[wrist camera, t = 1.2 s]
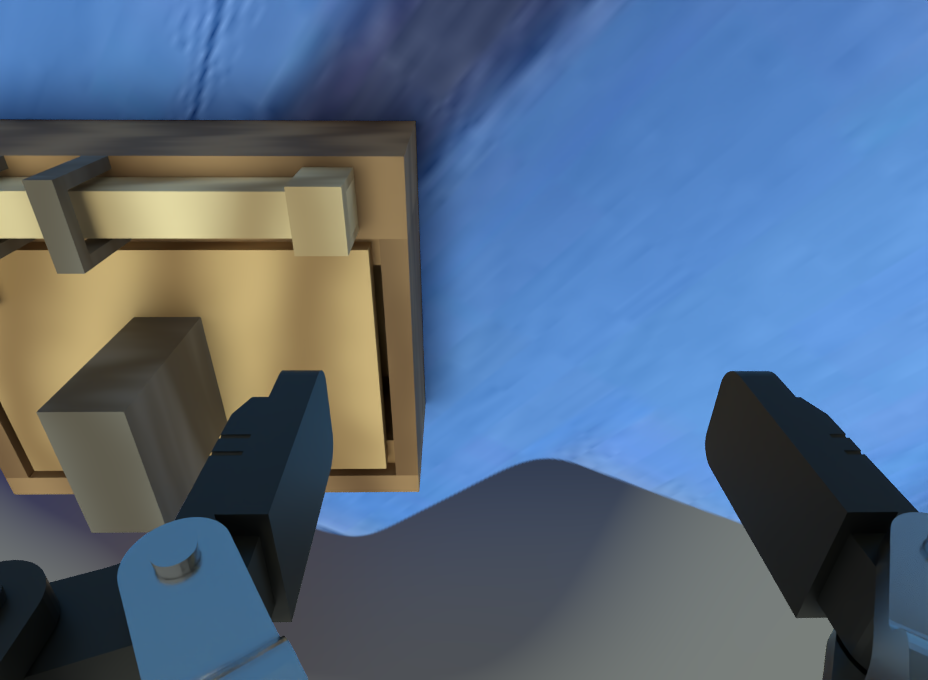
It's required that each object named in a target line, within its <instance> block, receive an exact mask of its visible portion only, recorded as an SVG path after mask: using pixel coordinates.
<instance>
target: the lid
mask: <svg viewBox="0 0 928 680" xmlns="http://www.w3.org/2000/svg"><path fill="white" fill-rule="evenodd" d="M282 370H322V371H323V372H324V374H325V378H326V384H327V392H328V400H329V408H330V416H331V424H332V432H333V459H332V466H331V469H386V467H387V461H388V448H387V435H386V423H385V410H384V397H383V385H382V372H381V360H380V347H379V335H378V322H377V310H376V297H375V285H374V272H373V260H372V247H371V242H354V244H353V246H352V248H351V251H350V253H349V256H294V249H293V242H128V243H127V244H125V245H124V246H122V247H121V248H120V249H118V250H117V251H116V252H114V253H113V254H111V255H110V256H109V257H107V258H106V259H105V260H103V261H102V262H100V263H99V264H98V265H96V266H95V267H94V268H92V269H91V270H89V271H88V272H87V273H85V274H57V272H56V269H55V267H54V264H53V261H52V259H51V256H50V253H49V251H48V248H47V246H46V243H45V242H30V243H28V244H26V245H24V246H23V247H21V248H19V249H17V250H16V251H14V252H12V253H10V254H8V255H7V256H5V257H3V258H1V259H0V402H1V404H2V406H3V408H4V410H5V412H6V414H7V416H8V418H9V420H10V422H11V424H12V426H13V428H14V430H15V432H16V434H17V437H18V439H19V441H20V443H21V445H22V447H23V449H24V451H25V453H26V455H27V457H28V459H29V461H30V463H31V465H32V467H33V469H34V471H64V473H65V476H66V478H67V480H68V482H69V484H70V486H71V489H72V491H73V493H74V495H75V497H76V499H77V501H78V504H79V506H80V508H81V510H82V512H83V514H84V516H85V519H86V521H87V523H88V525H89V527H90V529H91V532H92V533H106V532H107V533H110V532H150V531H152V530H154V529H155V528H157V527H159V526H162V525H164V524H166V523H169V522H172V521H174V520H175V518H176V516H177V514H178V512H179V511H180V509H181V507H182V505H183V503H184V501H185V499H186V498H187V496H188V494H189V492H190V490H191V488H192V487H193V485H194V483H195V481H196V479H197V477H198V475H199V474H200V472H201V470H202V468H203V466H204V464H205V463H206V461H207V459H208V457H209V456H211V455H212V450H213V448H214V446H215V444H216V442H217V440H218V438H221V433H222V431H223V429H224V427H225V425H226V423H227V422H228V420H229V418H230V416H231V414H232V413H233V412H235V411H236V410H237V409H238V408H239V407H241V406H242V405H243V404H244V403H245V402H247V401H248V400H249V399H250V398H251V397H269V395H270V393H271V391H272V389H273V386H274V384H275V382H276V380H277V378H278V376H279V374H280V372H281V371H282Z"/></svg>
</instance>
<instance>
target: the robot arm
mask: <svg viewBox="0 0 928 680" xmlns="http://www.w3.org/2000/svg"><path fill="white" fill-rule="evenodd" d="M705 450H706V457H707V461H708V464H709V466H710V468H711V470H712V472H713V473H714V475H715V477H716V479H717V480H718V482H719V484H720V486H721V487H722V489H723V491H724V493H725V494H726V496H727V498H728V500H729V501H730V503H731V505H732V507H733V508H734V510H735V512H736V514H737V515H738V517H739V519H740V521H741V522H742V524H743V526H744V528H745V529H746V531H747V533H748V535H749V536H750V538H751V540H752V542H753V543H754V545H755V547H756V549H757V550H758V552H759V554H760V556H761V557H762V559H763V561H764V563H765V564H766V566H767V568H768V569H769V571H770V573H771V575H772V577H773V578H774V580H775V582H776V584H777V585H778V587H779V589H780V591H781V592H782V594H783V596H784V598H785V599H786V601H787V603H788V605H789V606H790V608H791V610H792V612H793V613H794V615H795V617H796V618H821V617H822V618H823V617H827V618H828V620H829V621H830V623H831V625H832V626H833V628H834V629H833V631H832V633H831V634H830V636H829V638H828V640H827V645H826V652H825V662H824V671H823V678H822V680H928V513H922V512H918V511H917V510H916V509H915V508H914V507H913V505H912V504H911V503H910V502H909V501H908V500H907V499H906V498H905V497H904V496H903V495H902V494H901V493H900V492H899V490H898V489H897V488H896V487H895V486H894V485H893V484H892V483H891V482H890V481H889V480H888V479H887V478H886V477H885V476H884V474H883V473H882V472H881V471H880V470H879V469H878V468H877V467H876V466H875V465H874V464H873V463H872V462H871V461H870V459H869V458H868V457H867V456H866V455H865V454H861V450H860V449H859V448H858V447H857V446H856V445H855V443H854V442H853V441H852V440H851V439H850V438H846V437H845V433H844V432H843V431H842V430H841V428H840V427H839V426H838V425H837V424H836V423H835V422H834V421H833V420H832V419H831V418H830V417H829V416H828V415H827V414H826V413H824V412H823V411H821V410H820V409H818V408H817V407H815V406H813V405H812V404H810V403H809V402H807V401H805V400H804V399H802V398H801V397H795V395H794V394H793V393H792V392H791V391H790V390H789V389H788V388H787V387H786V385H785V384H784V383H783V382H782V381H781V380H780V379H779V378H778V376H777V375H775V374H774V373H773V372H770V371H730V372H728V373H726V374H725V376H724V377H723V379H722V382H721V385H720V389H719V392H718V396H717V399H716V402H715V406H714V409H713V413H712V416H711V420H710V423H709V427H708V430H707V434H706V440H705ZM332 459H333V432H332V424H331V416H330V408H329V400H328V392H327V384H326V378H325V374H324V372H323V371H322V370H282V371H281V372H280V374H279V376H278V378H277V380H276V382H275V384H274V386H273V389H272V391H271V393H270V395H269V397H251V398H250V399H249V400H248V401H247V402H245V403H244V404H243V405H242V406H241V407H239V408H238V409H237V410H236V411H235V412H233V413H232V414H231V416H230V418H229V420H228V422H227V423H226V425H225V427H224V429H223V431H222V433H221V438H218V440H217V442H216V444H215V446H214V448H213V450H212V455H211V456H209V457H208V459H207V461H206V463H205V464H204V466H203V468H202V470H201V472H200V474H199V476H198V478H197V479H196V481H195V483H194V485H193V487H192V489H191V491H190V492H189V494H188V496H187V498H186V500H185V502H184V504H183V506H182V507H181V509H180V511H179V513H178V515H177V517H176V519H175V520H174V521H172V522H169V523H166V524H164V525H162V526H159V527H157V528H155V529H154V530H152V531H150V532H149V533H147V534H146V535H144V536H143V537H142V538H140V539H139V540H138V541H137V542H136V543H135V544H134V545H133V546H132V547H131V548H130V549H129V550H128V552H127V553H126V554H125V556H124V558H123V559H122V561H121V563H119V564H117V565H114V566H111V567H107V568H104V569H100V570H96V571H92V572H89V573H85V574H81V575H77V576H74V577H69V578H66V579H62V580H58V581H54V582H50V583H49V581H48V580H47V578H46V576H45V574H44V572H43V570H42V569H41V568H40V567H39V566H37V565H35V564H34V563H31V562H28V561H23V560H11V561H2V562H0V680H308V678H307V676H306V674H305V672H304V670H303V668H302V666H301V664H300V662H299V660H298V658H297V656H296V654H295V652H294V650H293V648H292V646H291V644H290V643H289V641H288V640H287V638H286V637H285V636H282V637H280V636H279V635H278V633H277V631H276V629H275V627H274V625H273V622H292V619H293V615H294V611H295V607H296V603H297V599H298V595H299V592H300V588H301V584H302V580H303V576H304V572H305V567H306V564H307V560H308V556H309V552H310V549H311V544H312V541H313V537H314V533H315V529H316V525H317V521H318V517H319V513H320V509H321V505H322V502H323V498H324V494H325V490H326V486H327V482H328V478H329V474H330V470H331V466H332Z"/></svg>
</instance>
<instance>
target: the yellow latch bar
mask: <svg viewBox="0 0 928 680" xmlns="http://www.w3.org/2000/svg"><path fill="white" fill-rule="evenodd" d="M25 178H28V177H0V238H43V235H42V232H41V230H40V227H39V225H38V222H37V219H36V217H35V214H34V212H33V209H32V206H31V204H30V201H29V198H28V196H27V193H26V191H25V188H24V185H23V183H22V180H23V179H25ZM67 191H68V194H69V196H70V199H71V202H72V205H73V208H74V211H75V214H76V217H77V220H78V223H79V225H80V228H81V231H82V234H83V237H84V238H292V242H293V249H294V256H349V253H350V251H351V248H352V246H353V244H354V241H355V239H356V237H357V234H358V232H359V226H358V215H357V204H356V193H355V181H354V170H353V167H302V168H301V169H300V170H299V171H298V172H297V173H296V174H295V176H294V177H93V178H91V179H89V180H87V181H85V182H83V183H81V184H79V185H77V186H75V187H73V188H71V189H68V190H67Z"/></svg>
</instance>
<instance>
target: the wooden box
mask: <svg viewBox="0 0 928 680" xmlns="http://www.w3.org/2000/svg"><path fill="white" fill-rule="evenodd" d="M302 167H353V170H354V181H355V193H356V204H357V215H358V226H359V232H358V234H357V237H356V239H355V241H354V242H371V247H372V260H373V272H374V285H375V297H376V310H377V322H378V335H379V347H380V360H381V372H382V385H383V397H384V410H385V423H386V435H387V448H388V461H387V467H386V469H331V470H330V474H329V478H328V482H327V486H326V490H325V492H419V487H420V473H421V459H422V445H423V431H424V417H425V378H424V349H423V321H422V292H421V263H420V234H419V205H418V177H417V148H416V121H293V120H10V119H0V177H28V178H25V179H23V180H22V183H23V185H24V188H25V191H26V193H27V196H28V198H29V201H30V204H31V206H32V209H33V212H34V214H35V217H36V219H37V222H38V225H39V227H40V230H41V232H42V235H43V238H0V259H1V258H3V257H5V256H7V255H8V254H10V253H12V252H14V251H16V250H17V249H19V248H21V247H23V246H24V245H26V244H28V243H30V242H45V243H46V246H47V248H48V251H49V253H50V256H51V259H52V261H53V264H54V267H55V269H56V272H57V274H85V273H87V272H88V271H89V270H91V269H92V268H94V267H95V266H96V265H98V264H99V263H100V262H102V261H103V260H105V259H106V258H107V257H109V256H110V255H111V254H113V253H114V252H116V251H117V250H118V249H120V248H121V247H122V246H124V245H125V244H127V243H128V242H292V238H84V237H83V234H82V231H81V228H80V225H79V223H78V220H77V217H76V214H75V211H74V208H73V205H72V202H71V199H70V196H69V194H68V191H67V190H68V189H71V188H73V187H75V186H77V185H79V184H81V183H83V182H85V181H87V180H89V179H91V178H93V177H294V176H295V174H296V173H297V172H298V171H299V170H300V169H301V168H302ZM0 468H1V470H2V472H3V474H4V476H5V478H6V479H7V481H8V483H9V485H10V487H11V489H12V490H13V492H14V494H74V493H73V491H72V489H71V486H70V484H69V482H68V480H67V478H66V476H65V473H64V471H34V469H33V467H32V465H31V463H30V461H29V459H28V457H27V455H26V453H25V451H24V449H23V447H22V445H21V443H20V441H19V439H18V437H17V434H16V432H15V430H14V428H13V426H12V424H11V422H10V420H9V418H8V416H7V414H6V412H5V410H4V408H3V406H2V404H1V402H0ZM198 476H199V475H198ZM197 478H198V477H197ZM191 489H192V488H191ZM190 491H191V490H190Z"/></svg>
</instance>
